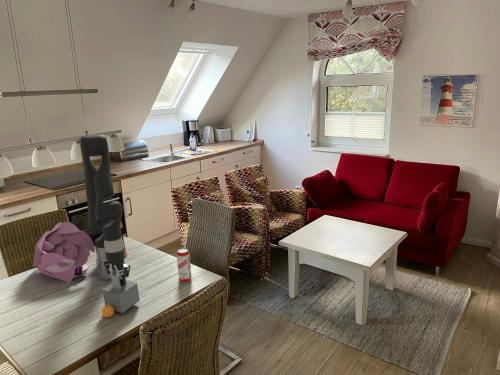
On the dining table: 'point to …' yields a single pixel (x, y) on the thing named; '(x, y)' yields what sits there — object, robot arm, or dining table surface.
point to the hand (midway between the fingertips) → (119, 284)
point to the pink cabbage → (63, 252)
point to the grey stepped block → (120, 294)
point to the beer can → (184, 265)
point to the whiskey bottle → (122, 239)
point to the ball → (107, 311)
